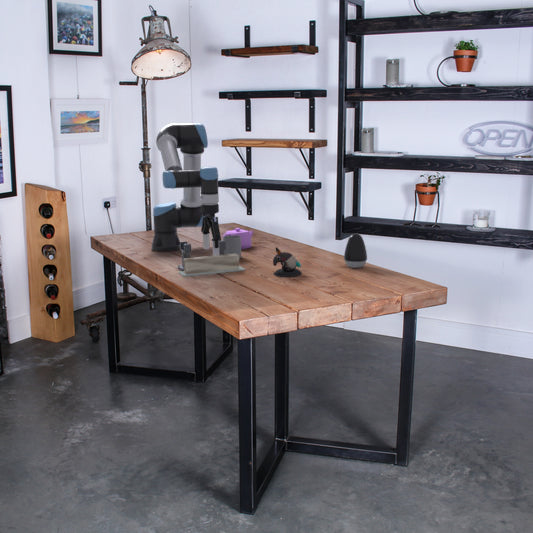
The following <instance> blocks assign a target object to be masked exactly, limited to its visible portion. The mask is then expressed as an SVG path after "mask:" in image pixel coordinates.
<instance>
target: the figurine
mask: <svg viewBox="0 0 533 533" xmlns="http://www.w3.org/2000/svg"><path fill="white" fill-rule="evenodd" d="M275 252H276V253H277V254H275V256H273V260H272V265H273V266H274V267H275V266H277V264H278V263H280V265H281V268H279V269H276V270H275V271H274V272H273V276H275V277H279V278H293V277H297V276H300V275H301V274H302V271H301V270H299V269H298V268H302V265H301V263H300V262H299V261H298V260H297V259H296V257H295V256H294V254H292V253H290V252H287V251H284V252H283V251H281V250H280V249H279V248H278V247H277V246H276V247H275Z"/></svg>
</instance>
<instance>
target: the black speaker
mask: <svg viewBox="0 0 533 533" xmlns="http://www.w3.org/2000/svg"><path fill="white" fill-rule="evenodd" d="M346 242H347V243H346V246H345V250H344V253H343V260H344V263H345V265H346V266H347V267H348V268H352V269H361V268H363V267H364V266H365V265H366V263H367V261H368V253H367V248H366V244H365V241H364V238H363V236H362V235H361V234H360V233H358V232H357V233H353V234H351V235H350V236H349V238H348V240H347V241H346Z"/></svg>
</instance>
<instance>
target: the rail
mask: <svg viewBox="0 0 533 533" xmlns="http://www.w3.org/2000/svg"><path fill="white" fill-rule="evenodd" d="M239 266H240V258H239V255H238V254H226V255H215V256H213V255H208V256H207V255H206V256H197V257H190V258H184V272H185V273H186V274H192V273H201V272H211V271H220V270H230V269H239Z"/></svg>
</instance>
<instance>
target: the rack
mask: <svg viewBox="0 0 533 533" xmlns="http://www.w3.org/2000/svg"><path fill="white" fill-rule="evenodd" d="M179 250H180V252H181V265H177V269H178V270H179V271H184V258H191V254H192V243H188V241H180V249H179ZM224 250H226V241H223V240H222V239H221V240H219V255H225V252H224Z"/></svg>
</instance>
